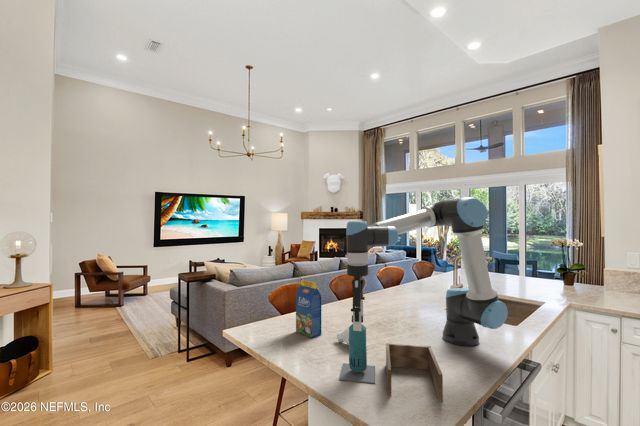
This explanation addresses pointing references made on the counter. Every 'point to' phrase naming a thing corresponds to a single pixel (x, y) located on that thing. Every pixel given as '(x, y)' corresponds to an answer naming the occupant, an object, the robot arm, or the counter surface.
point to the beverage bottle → (357, 348)
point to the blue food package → (308, 309)
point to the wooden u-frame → (414, 363)
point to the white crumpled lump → (343, 336)
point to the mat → (358, 374)
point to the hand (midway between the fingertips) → (358, 323)
